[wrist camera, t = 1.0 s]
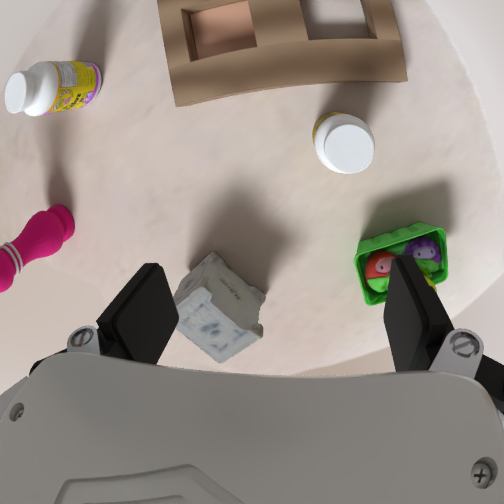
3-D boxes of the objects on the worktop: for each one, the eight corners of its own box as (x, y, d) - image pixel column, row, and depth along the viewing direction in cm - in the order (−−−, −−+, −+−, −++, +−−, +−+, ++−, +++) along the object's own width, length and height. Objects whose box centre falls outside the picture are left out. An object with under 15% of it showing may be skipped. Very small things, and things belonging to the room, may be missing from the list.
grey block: (272, 290, 40) (263, 346, 31) (231, 316, 43) (214, 368, 34) (222, 241, 37) (197, 289, 28) (184, 273, 41) (154, 321, 32)
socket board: (166, -6, 22) (155, -13, 19) (369, -35, 16) (374, -46, 14) (186, 106, 29) (176, 106, 26) (398, 82, 24) (407, 80, 21)
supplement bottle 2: (324, 103, 27) (335, 101, 18) (368, 127, 27) (395, 137, 19) (303, 145, 29) (304, 162, 21) (346, 168, 30) (363, 194, 21)
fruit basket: (428, 208, 30) (470, 253, 20) (435, 266, 34) (467, 320, 24) (346, 235, 34) (360, 290, 24) (362, 290, 37) (375, 351, 28)
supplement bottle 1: (73, 113, 31) (4, 131, 20) (67, 73, 28) (-2, 80, 17) (107, 97, 29) (34, 107, 18) (100, 54, 26) (28, 51, 15)
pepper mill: (49, 195, 38) (-40, 254, 21) (77, 209, 38) (-15, 279, 21) (49, 231, 42) (-28, 294, 25) (76, 246, 42) (-2, 319, 25)
